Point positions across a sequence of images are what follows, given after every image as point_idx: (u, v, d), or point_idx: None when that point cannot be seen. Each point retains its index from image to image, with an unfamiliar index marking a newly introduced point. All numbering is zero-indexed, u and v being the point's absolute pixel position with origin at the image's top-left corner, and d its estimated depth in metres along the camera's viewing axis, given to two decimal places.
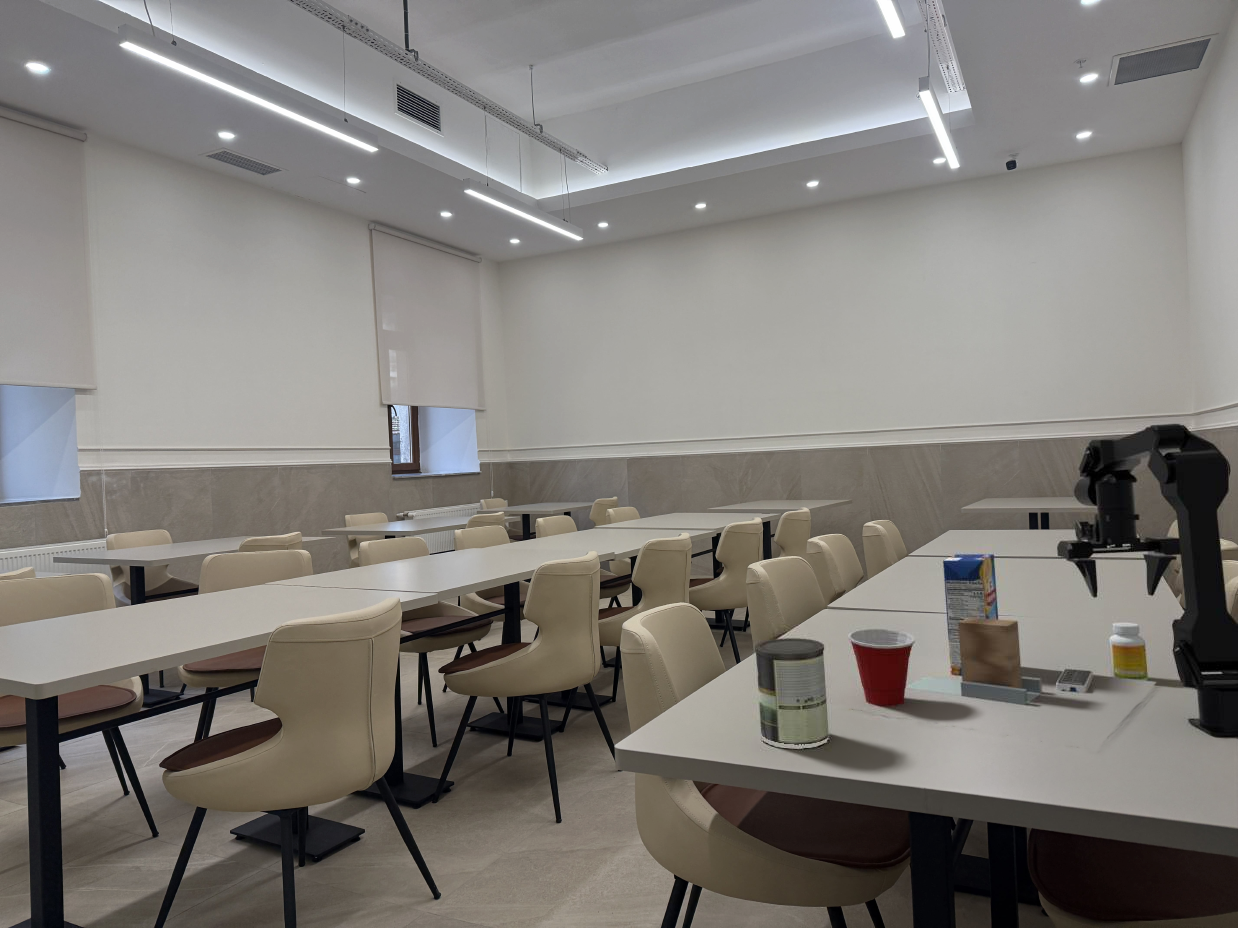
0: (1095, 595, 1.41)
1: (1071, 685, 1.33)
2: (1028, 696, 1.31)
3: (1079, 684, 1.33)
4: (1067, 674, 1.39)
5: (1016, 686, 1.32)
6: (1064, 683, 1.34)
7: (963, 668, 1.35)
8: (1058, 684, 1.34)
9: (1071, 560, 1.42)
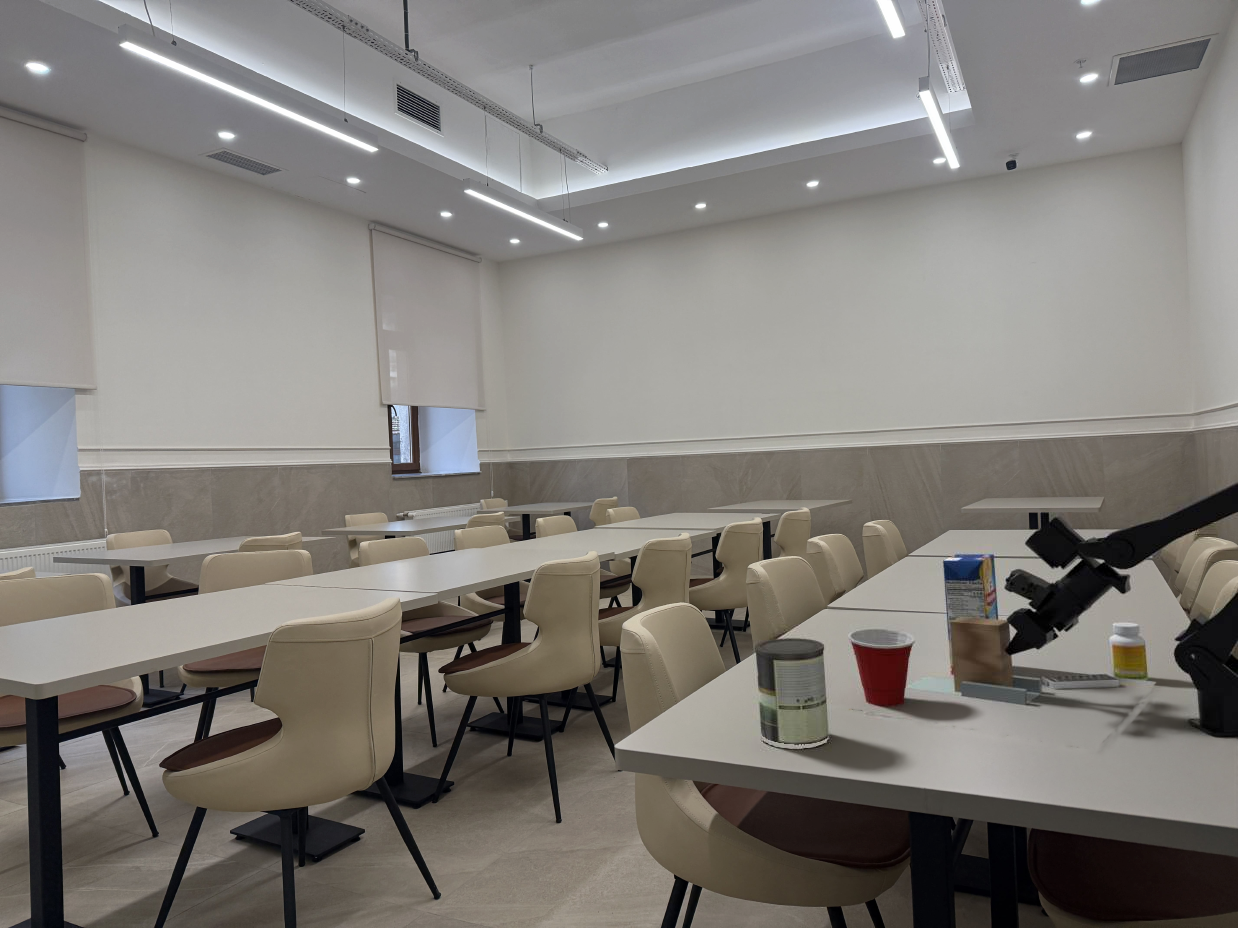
0: (1011, 653, 1.32)
1: (1047, 680, 1.37)
2: (1028, 696, 1.31)
3: (1054, 680, 1.36)
4: (1084, 675, 1.38)
5: (1007, 685, 1.33)
6: (1047, 677, 1.38)
7: (955, 667, 1.36)
8: (1042, 677, 1.39)
9: None
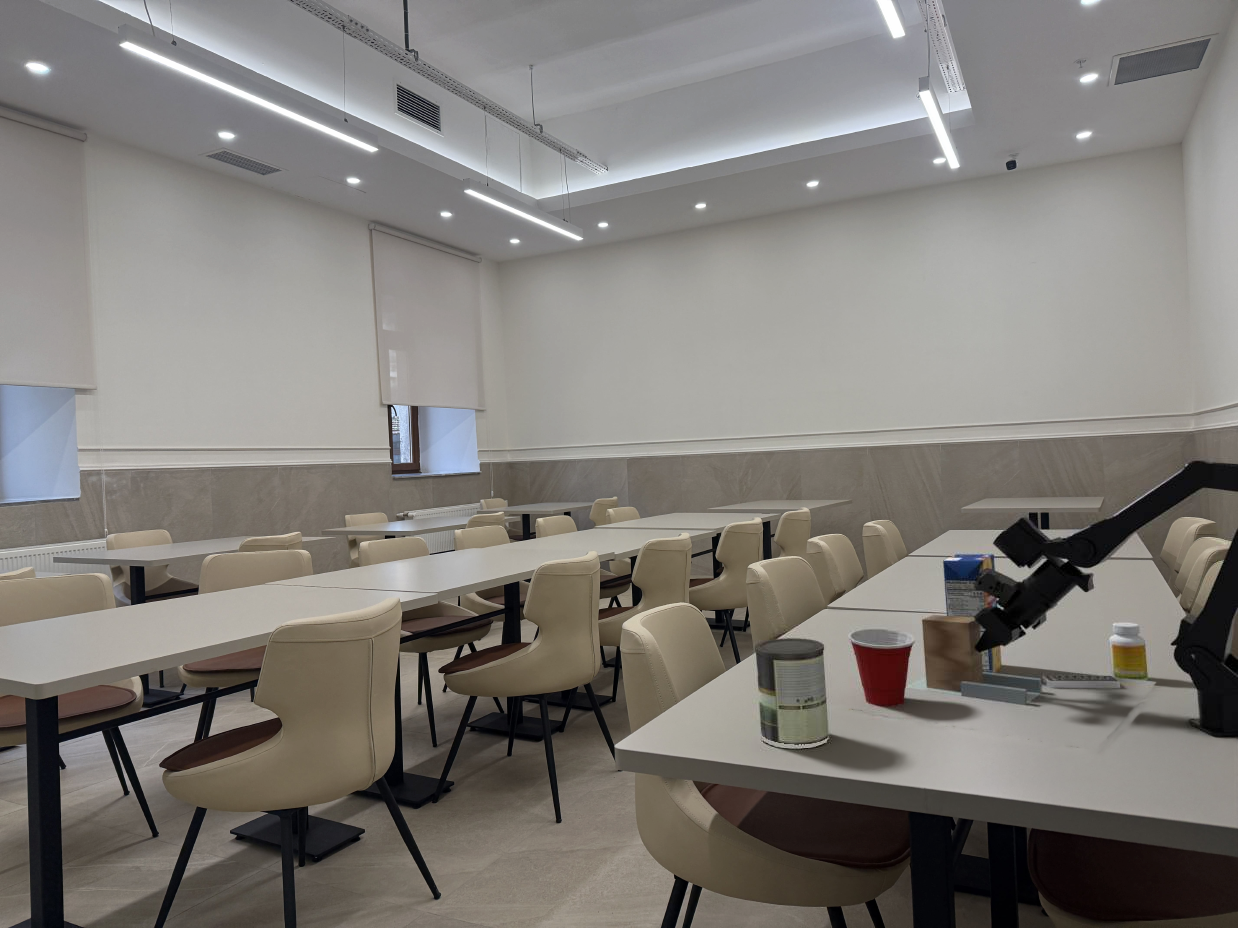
0: (980, 651, 1.36)
1: (1045, 678, 1.38)
2: (1028, 696, 1.31)
3: (1051, 679, 1.36)
4: (1087, 676, 1.37)
5: (977, 681, 1.36)
6: (1046, 676, 1.38)
7: (927, 664, 1.40)
8: (1042, 676, 1.39)
9: None
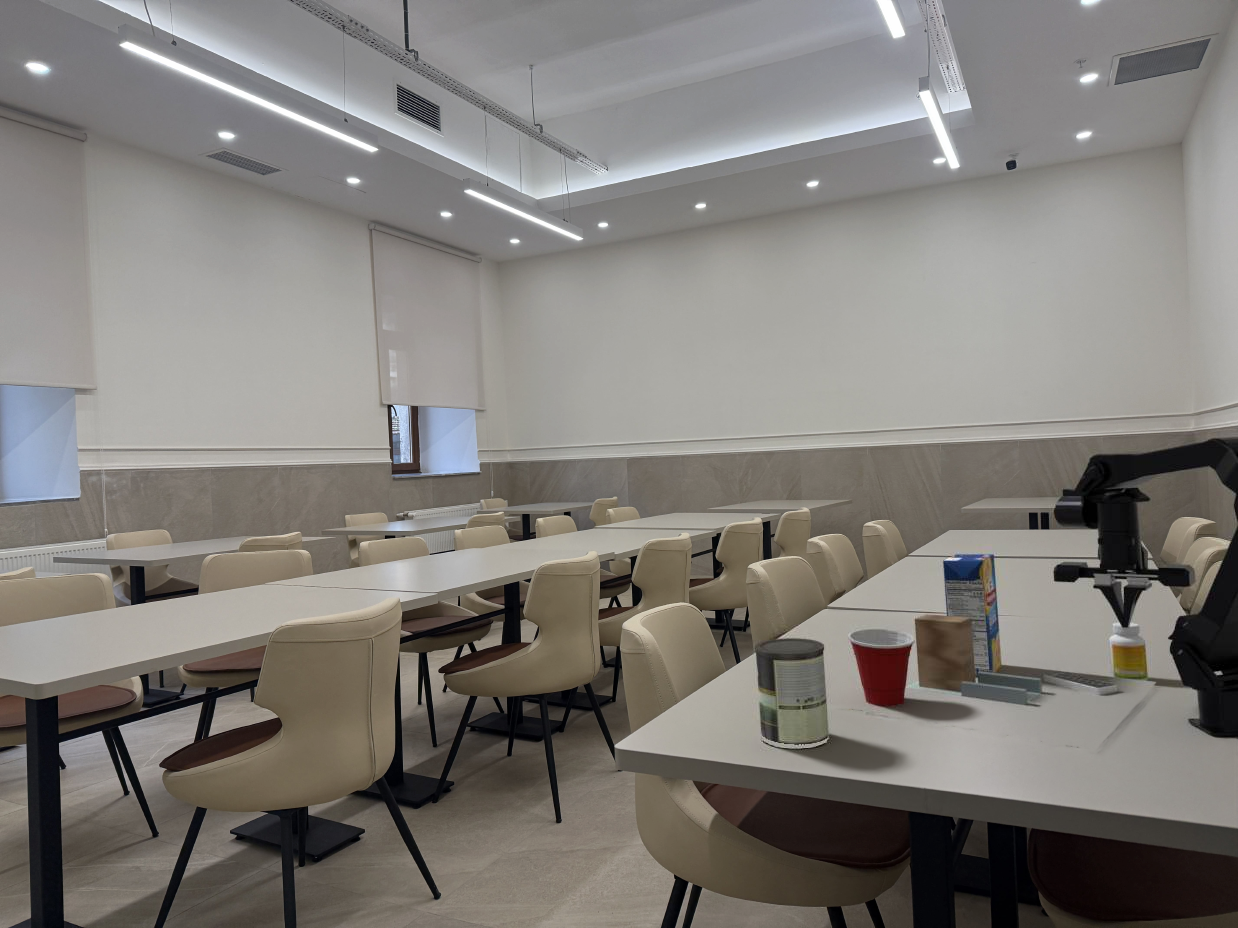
0: (1123, 625, 1.28)
1: None
2: (1028, 696, 1.31)
3: (1050, 674, 1.40)
4: (1091, 680, 1.35)
5: (969, 680, 1.37)
6: (1058, 672, 1.41)
7: (919, 663, 1.41)
8: (1059, 672, 1.41)
9: None
